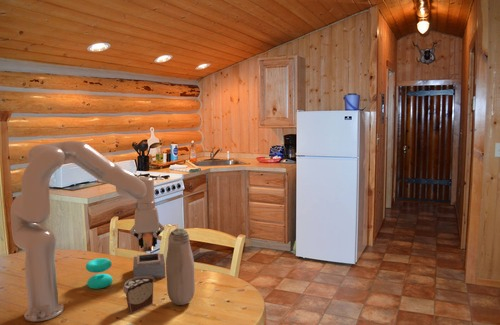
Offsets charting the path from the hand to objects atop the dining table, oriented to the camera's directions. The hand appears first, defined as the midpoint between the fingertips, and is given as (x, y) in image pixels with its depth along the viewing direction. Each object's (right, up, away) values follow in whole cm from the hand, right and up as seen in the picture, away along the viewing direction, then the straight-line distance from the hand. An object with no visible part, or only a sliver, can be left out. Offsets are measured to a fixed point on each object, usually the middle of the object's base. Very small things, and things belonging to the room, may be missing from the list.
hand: (148, 246), depth 180 cm
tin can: (0, -1, 0) cm, 2 cm away
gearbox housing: (0, -12, +2) cm, 12 cm away
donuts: (-18, -14, -9) cm, 24 cm away
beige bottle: (+19, -16, -26) cm, 36 cm away
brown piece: (+3, -16, -28) cm, 33 cm away
